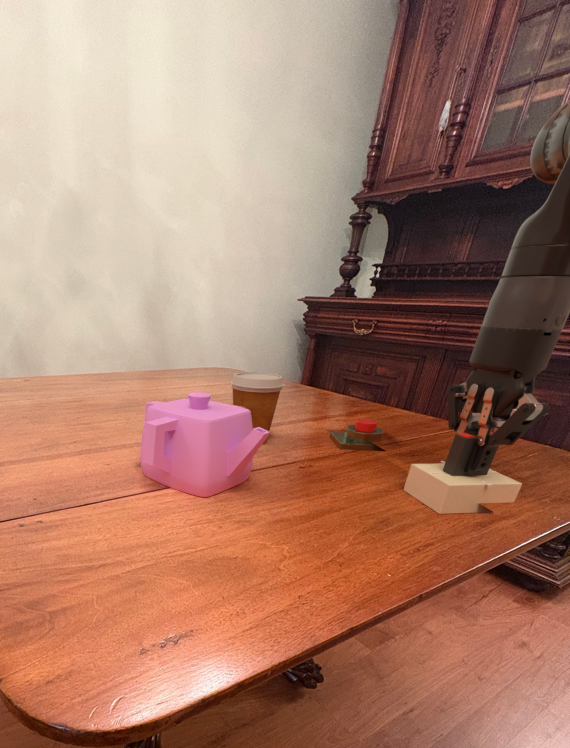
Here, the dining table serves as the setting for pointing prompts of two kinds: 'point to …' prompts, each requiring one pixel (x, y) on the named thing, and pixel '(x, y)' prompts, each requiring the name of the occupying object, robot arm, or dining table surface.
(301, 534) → the dining table surface
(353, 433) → the switch block
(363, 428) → the power button
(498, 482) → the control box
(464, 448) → the switch lever
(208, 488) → the teakettle
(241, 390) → the disposable coffee cup
